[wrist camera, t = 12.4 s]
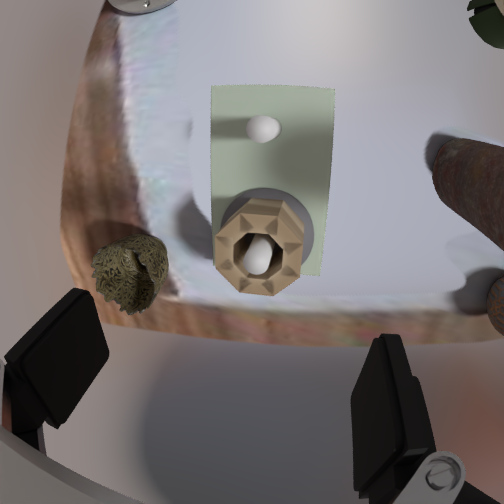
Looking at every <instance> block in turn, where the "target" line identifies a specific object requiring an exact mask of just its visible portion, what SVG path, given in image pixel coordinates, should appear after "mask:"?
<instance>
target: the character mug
mask: <svg viewBox="0 0 504 504" xmlns="http://www.w3.org/2000/svg"><path fill="white" fill-rule="evenodd" d="M472 9H474V16H472V17H470V18H469V21H470V23H471V25H472V26H473V28H474V30H475V32H476V33H477V34H478V35H479V36H480V37H481V38H482V40H483V41H484V42H486V43H488V44H489V45H491V46H493V47H495V48H500V49H504V0H472V1H470V2H469V5H468V7H467V11H469V10H472Z"/></svg>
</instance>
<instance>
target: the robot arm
mask: <svg viewBox="0 0 504 504" xmlns="http://www.w3.org/2000/svg"><path fill="white" fill-rule="evenodd" d="M108 1H109V3H110V4H111V5H112V6H113V7H115V8H117V9H118V10H121V11H123V12H126V13H132V14H143V13H148V12H153V11H156V10H158V9H161V8H164V7H166V6H168V5H170V4H172V3H174V2H175V1H177V0H108ZM108 357H109V349H108V346H107V343H106V340H105V336H104V333H103V330H102V327H101V323H100V320H99V317H98V313H97V309H96V306H95V302H94V299H93V297H92V296H91V294H90V292H89V291H87V290H83V289H79V288H73V289H71V290H70V291H69V292H68V293H67V294H66V295H65V296H64V297H63V298H62V299H61V300H59V302H57V303H56V304H55V305H54V306H53V307H52V308H51V309H50V310H49V311H48V312H47V313H46V314H45V315H44V316H43V317H42V318H41V319H40V320H39V321H38V322H37V323H36V324H35V325H34V326H33V327H32V328H31V329H30V330H29V331H28V332H27V333H26V334H25V335H24V336H23V337H22V338H21V339H20V340H19V341H18V342H17V343H16V344H15V345H14V346H13V347H12V348H11V349H10V350H9V351H8V353H7V354H6V355H5V356H4V358H5V360H6V362H7V364H6V365H4V363H3V361H2V360H1V359H0V504H147V503H144V502H141V501H139V500H136V499H133V498H131V497H128V496H125V495H123V494H121V493H118V492H116V491H114V490H111V489H109V488H107V487H104V486H102V485H100V484H98V483H96V482H94V481H92V480H90V479H88V478H86V477H84V476H82V475H80V474H78V473H76V472H74V471H72V470H70V469H68V468H66V467H64V466H63V465H61V464H59V463H57V462H56V461H54V460H52V459H50V458H49V457H47V455H46V448H45V442H44V434H43V425H42V424H43V422H44V421H46V423H47V424H49V425H50V426H52V427H54V428H56V429H58V428H59V427H60V425H61V424H63V423H65V422H66V421H67V419H68V418H69V416H70V414H71V413H72V412H73V410H74V409H75V407H76V406H77V404H78V402H79V401H80V399H81V398H82V396H83V395H84V393H85V392H86V391H87V389H88V388H89V386H90V385H91V383H92V382H93V380H94V379H95V377H96V376H97V374H98V373H99V372H100V370H101V369H102V367H103V366H104V364H105V363H106V362H107V360H108ZM351 417H352V436H353V437H352V438H353V469H354V470H353V475H354V476H353V479H354V490H355V491H359V499H364V498H369V504H500V503H499V502H497V501H496V500H494V499H493V498H491V497H489V496H488V495H486V494H484V493H483V492H482V491H480V490H479V489H477V488H475V487H474V486H472V485H471V484H469V483H468V482H466V481H465V476H466V470H465V467H464V464H463V462H462V461H461V459H460V458H458V457H457V456H456V455H455V454H453V453H450V452H447V451H439V452H437V451H436V447H435V441H434V437H433V432H432V428H431V424H430V419H429V416H428V411H427V407H426V404H425V400H424V396H423V392H422V389H421V385H420V382H419V380H418V378H417V377H415V376H412V373H411V370H410V366H409V363H408V360H407V356H406V353H405V349H404V346H403V343H402V340H401V337H400V335H398V334H381V335H380V336H379V338H374V340H373V342H372V345H371V347H370V350H369V353H368V355H367V358H366V361H365V363H364V365H363V368H362V371H361V373H360V375H359V378H358V380H357V383H356V385H355V387H354V389H353V392H352V395H351Z"/></svg>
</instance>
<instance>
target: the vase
mask: <svg viewBox="0 0 504 504" xmlns="http://www.w3.org/2000/svg"><path fill="white" fill-rule="evenodd" d="M487 313H488V316H489V319H490V321H491V323H492V325H493V326H494V328H495V329H496V330H497V331H498V332H499V333H500V334H502V335H503V336H504V277H502V278H500V279H499V280H497V281H496V282H495V283H494V284H493V286H492V287H491V289H490V291H489V294H488V297H487Z"/></svg>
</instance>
